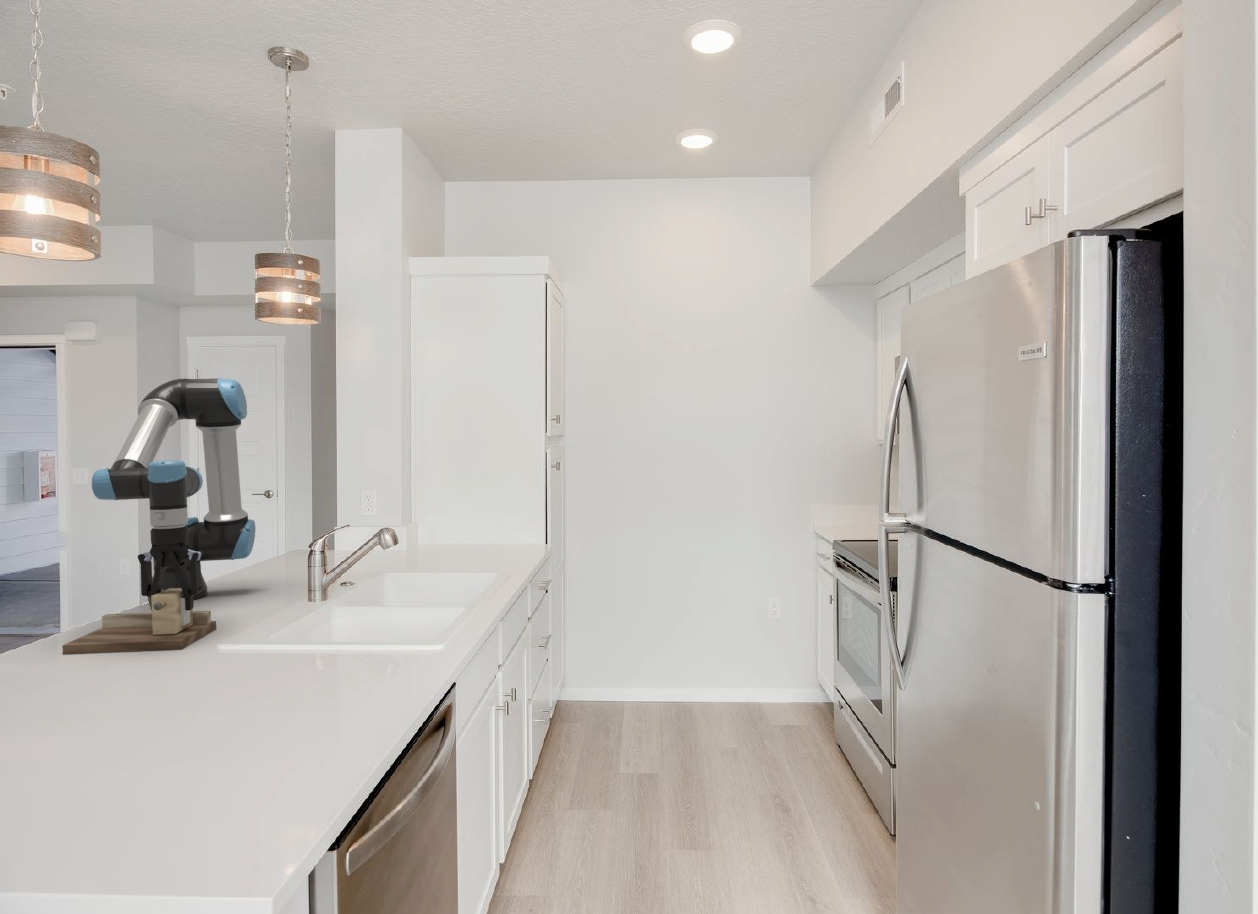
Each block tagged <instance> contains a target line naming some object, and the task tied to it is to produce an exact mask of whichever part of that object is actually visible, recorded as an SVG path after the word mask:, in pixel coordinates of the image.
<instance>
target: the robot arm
mask: <svg viewBox="0 0 1258 914" xmlns="http://www.w3.org/2000/svg"><path fill="white" fill-rule="evenodd" d="M137 415H138V417H137V419H136V420H135V422H134V423H133V426H132V427H131V430H130V432H129V434H128V436H127V437H126V439H125V442H124V444H123V445H122V447H121V449H120V451H119V453H118V454H117V456H116V459H115V460H114V462H113V463H112V466H111V468H107V467H106V468H101V469H98V470H95V472H94V473H93V475H92V478H91V489H92V492H93V495H94V497H95V498H97V499H98V500H102V501H103V500H110V501H111V500H112V501H121V500H122V501H123V500H124V501H125V500H126V501H127V500H144V499H145V500H146V499H148V500H149V521H150V522H149V524H150V526H151V527H152V528H151V529H150V544H151V548H150V550H149V551H147V552H144V553H140V554H138V555H137V559H138V561H139V565H140V594H141V596H143V597H147V602H148V603H150V599H151V596H152V595H155V594H157V593H160V592H161V590H162V589H163V591H165V590H167V589H170V588H181V589H182V592H183V595H184V596H182V598H180V604H181V626H183V625H186V624H188V623H190V610H192V611H193V609H194V607H195V606H194V601H195V600H198V599H202V598H204V597H206V596H208V586H207V584H206V580H205V578H204V577H203V574H202V568H201V567H202V565H201V564H202V563H201V562H209V561H210V562H211V561H230V560H231V561H234V560H240V559H246V558H248V557H249V556H250V555H251V553H252V550H253V547H254V543H255V539H256V538H255V537H256V522H255V520H254V519H251V518H250V519H249V515H248V513H249V512H247V511H246V510H245V509H243V508H242V494H241V481H240V468H239V456H238V455H239V454H238V453H239V452H238V441H237V440H238V439H237V430H238V428H240V427H241V426H242V420H244V419H246V417H247V416H248V405H247V398H246V395H245V391H244V389H243V386H242V385H241V383H240V382H239V381H237V380H235V379H231V378H221V377H218V378H176V379H172V380H169V381H167V382H164V383H161V384H160V385H158V386H157V387H155V388H154V389H152V390H151V391H150V392H149V393H147V394H146V396H145V397H144V398H143V399H142V401H141V402H140V403H139V406H138V408H137ZM182 420H195V427H196V428H197V429H198V430H200V431H201V433H202V441H203V443H202V444H203V453H204V454H203V455H204V457H203V458H204V465H205V466H204V469H205V479H206V490H207V491H206V492H207V503H208V512H207V513H206V514H205V515H204V516H203V521H200V519H199V518H198V517H196V516H194V517H193V516H191V517H189V516H188V498H190V497H192V496H193V495H195V494H197V493H198V492H199V491H200V490H201V488H203V487H202V486H203V482H204V480H203V476H202V474H201V473H200V471H199V470H197V469H196V468H194V467H191V466H186V462H185V461H183V460H159V461H158V460H157V461H156V460H155V458H156V456H157V454H158V452H159V450H160V448H161V446H162V444H163V441H164V439H165V438H166V435H167V433H168V431H169V429H170V428H171V427H173V426H174V425H175V424H176V423H177V421H182ZM154 460H155V461H154ZM152 561H153V562H152ZM152 564H153V565H152ZM152 577H154V579H153V583H152ZM150 610H152V602H151V607H150Z"/></svg>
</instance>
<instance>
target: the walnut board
mask: <svg viewBox="0 0 1258 914" xmlns="http://www.w3.org/2000/svg"><path fill="white" fill-rule="evenodd" d="M192 615H193V625H191V626H189V627H187V628H186V629H184V630H182V631H180V632H178V633H176V634H157V635H153V627H152V612H133V613H106V614H104V615H102V616H101V628H98V629H96V630H94V631H93V632H89V633H88V634H86V635H83V636H80V637H78V638H76V639H74V640H71V641H68V642H66V643H64V644H62V655H74V654H75V655H77V654H99V653H100V654H102V653H124V652H125V653H126V652H127V653H128V652H151V651H172V650H173V651H176V650H177V651H178V650H183V649H185V648H187V647H188V646H190V645H193V644H194V643H195V642H197V641H198V640H200V639H202V638H203V637H205V636H207V635H209V634H210V633H212V632H215V630H217V621H216V620H212V610H192Z"/></svg>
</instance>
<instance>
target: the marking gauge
mask: <svg viewBox="0 0 1258 914" xmlns="http://www.w3.org/2000/svg"><path fill="white" fill-rule="evenodd" d="M182 596H184V595H183V592H182V589H181V588H170V589H167V590H165V591H162V592H160V593H157V594H155V595H152V596H151V602H152V611H151V613H152V627H153V635H157V634H176V633H178V632H180V631H182V630H184V629H186V628H187V627H189V626H191V625H193V615H192V611H193V609H192V610H190V623H188V624H186V625H183V626H181V604H180V598H182Z"/></svg>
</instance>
